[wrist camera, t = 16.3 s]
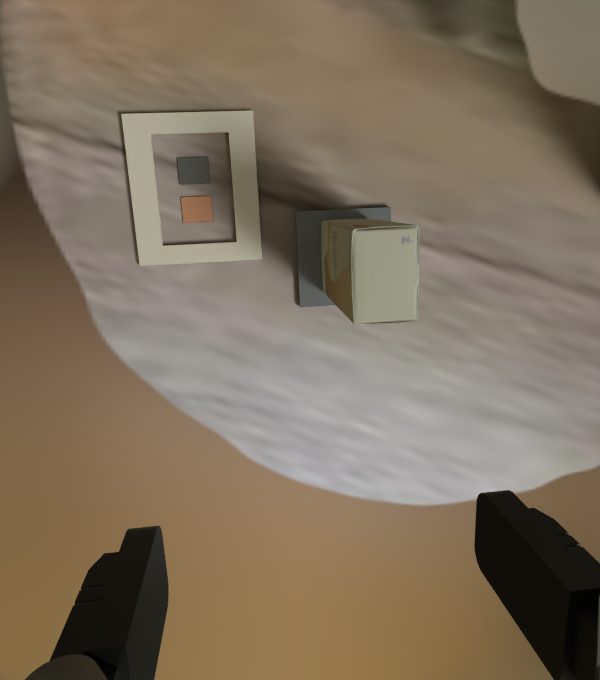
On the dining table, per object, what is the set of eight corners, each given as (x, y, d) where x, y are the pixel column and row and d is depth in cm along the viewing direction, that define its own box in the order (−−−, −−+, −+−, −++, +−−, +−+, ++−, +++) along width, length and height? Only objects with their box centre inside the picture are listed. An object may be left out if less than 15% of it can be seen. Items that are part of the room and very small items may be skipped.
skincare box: (319, 220, 42) (350, 222, 30) (370, 217, 42) (421, 219, 30) (322, 296, 43) (352, 327, 32) (371, 293, 44) (419, 323, 32)
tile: (389, 207, 43) (390, 207, 42) (388, 300, 45) (390, 301, 44) (295, 211, 42) (295, 211, 41) (299, 306, 44) (300, 307, 43)
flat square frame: (252, 111, 40) (253, 110, 39) (261, 258, 42) (262, 259, 42) (122, 114, 39) (121, 113, 38) (140, 265, 41) (139, 265, 41)
